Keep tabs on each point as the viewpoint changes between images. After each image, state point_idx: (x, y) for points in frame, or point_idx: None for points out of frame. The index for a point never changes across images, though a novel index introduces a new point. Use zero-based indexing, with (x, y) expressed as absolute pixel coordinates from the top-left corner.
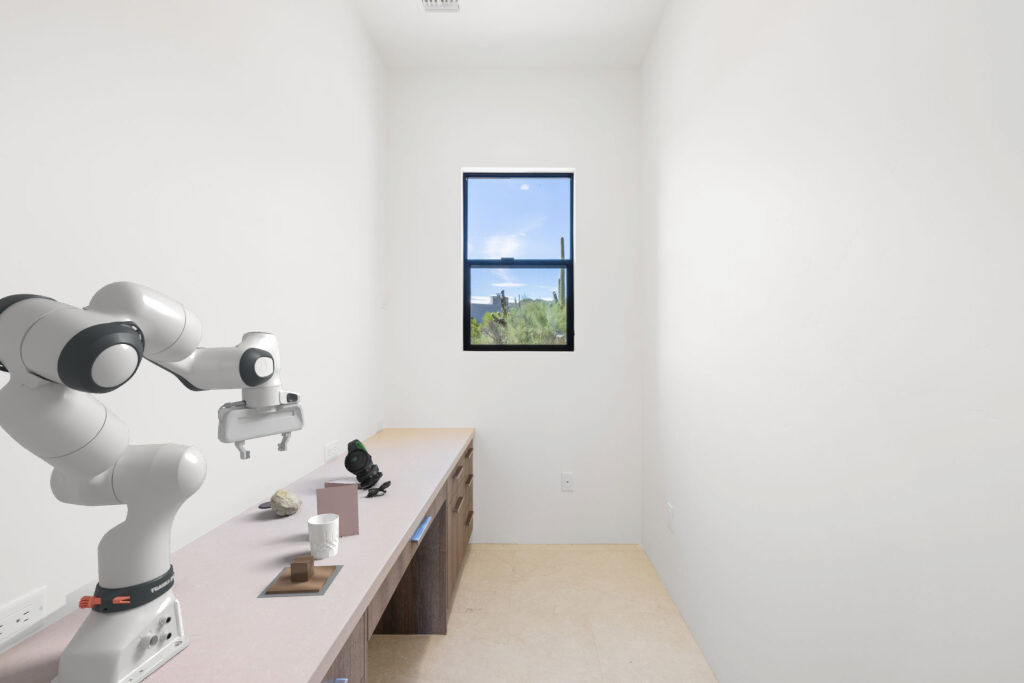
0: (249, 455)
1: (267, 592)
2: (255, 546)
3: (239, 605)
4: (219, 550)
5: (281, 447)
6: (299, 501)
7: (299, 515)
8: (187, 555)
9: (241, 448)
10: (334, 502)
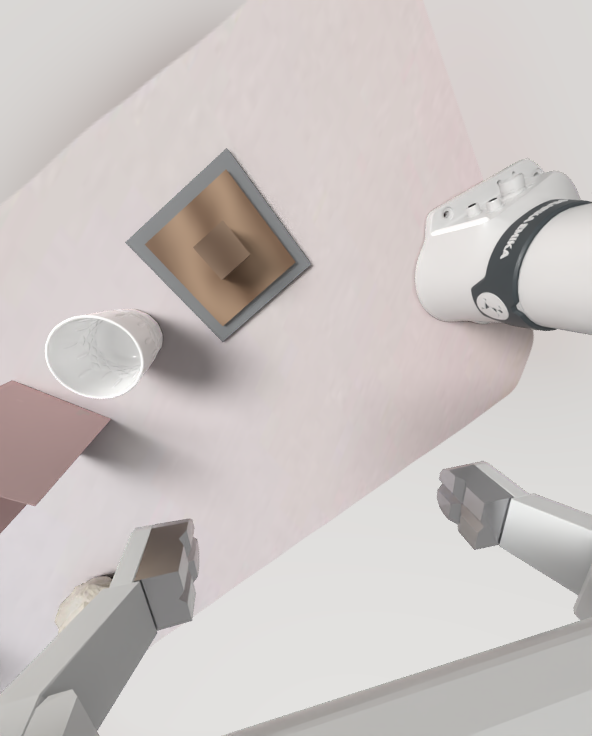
0: (460, 478)
1: (293, 260)
2: (217, 477)
3: (334, 271)
4: (265, 500)
5: (182, 549)
6: (66, 604)
7: (86, 565)
8: (304, 513)
9: (586, 517)
10: (9, 452)
